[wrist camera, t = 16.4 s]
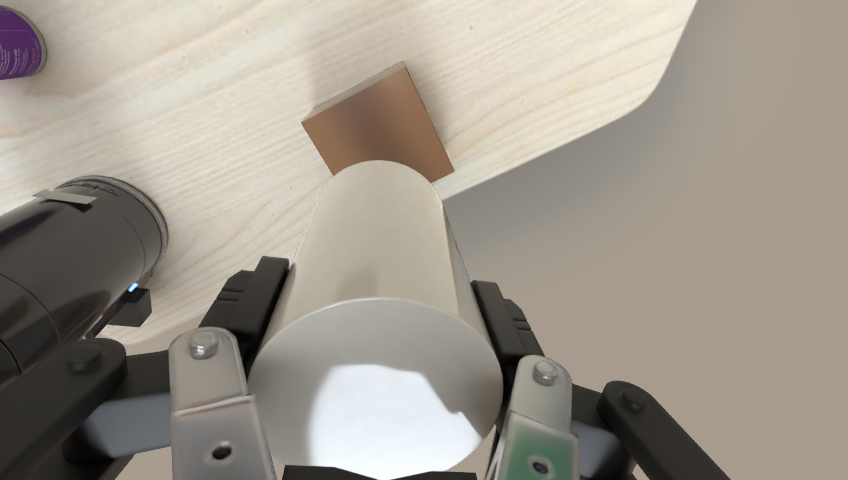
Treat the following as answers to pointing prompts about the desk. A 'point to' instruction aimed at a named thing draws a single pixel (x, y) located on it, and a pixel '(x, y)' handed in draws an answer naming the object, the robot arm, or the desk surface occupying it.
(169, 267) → the desk surface
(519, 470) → the robot arm
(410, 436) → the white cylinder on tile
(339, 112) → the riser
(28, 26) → the container
